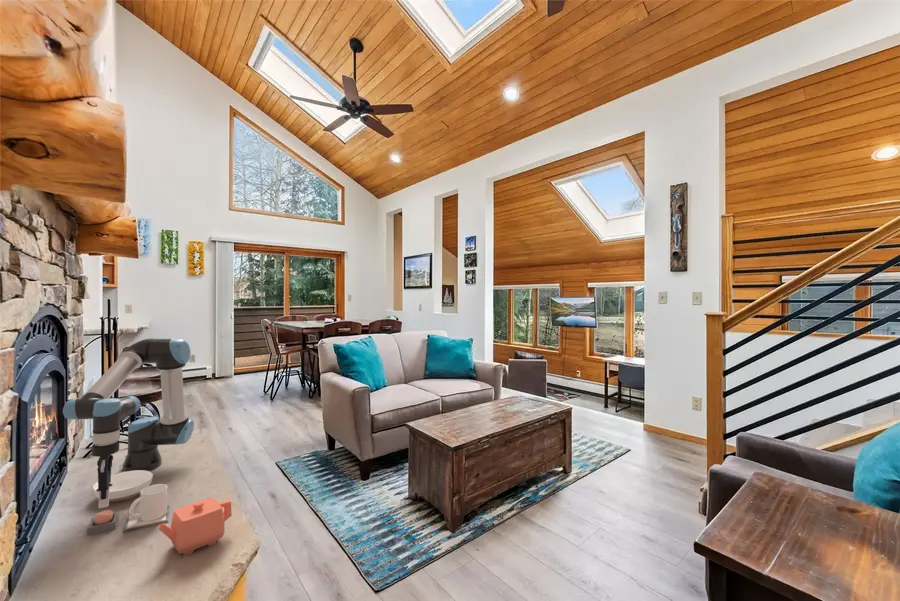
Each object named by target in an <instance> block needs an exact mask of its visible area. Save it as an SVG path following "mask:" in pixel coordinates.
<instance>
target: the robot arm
mask: <svg viewBox="0 0 900 601" xmlns="http://www.w3.org/2000/svg"><path fill="white" fill-rule="evenodd" d="M190 357H191V348H190V345H189V343H188V342H187V341H186V340H185V339H181V338H145V339H141V340H139V341H137V342H134V343H132V344H130V345H129V346H128V347H126V348H125V349H124V350H122V351H121V352H120V353H119V354H118V355H117V357H116V358H117V359H116V360H115V362H114V363H113V364H112V365H111V366H110V367H109V368H108V369H107V370H106V371H105V372H104V374H102V375H101V377H100V378H98V379H97V381H96V382H95V383H94V384H93V385H92V386H91V387H90V388H89V389H88V390H87V391H86V392H85V393H84V394H83V395H82V396H81V397H79V398H74V399H73V398H72V399H70V400H68V401H66V402H65V404H64V406H63V408H62V415H63V417H64V418H65V419H67V420H92V434H91V435H89V436H90V438H92V440H91V441H92V445H91V455H92V456H93V457H99V458H98V460H96V462H97V464H96V465H97V469H96V470H97V482H98V489H97V490H96V492H97V491H99V498H98V509H102V508H107V507H109V505H110V501H109V490H110V487H109V486H112V484H110V482H111V475H112V467H113V461H114V455H113V454H116V453H118V452H119V451H120V439H121V421H122V420H124V419H127V418H128V417H131V416H132V415H134V414H136V413H137V412H138V411H139V410H140V408H141V401H140V399H139V398H138V397H136V396H135V395H128V396H123V397H121V398H116V397H115V398H114V397H113V398H111V397H112V396H113V395H114V393H115V392H116V391H117V390H118V389H119V388H120V387H121V385H122V384H123V383H124V382H125V381H126V380H127V378H128V377H129V376H130V375H131V374H132V373H133V372H134V371H135V369H139V368H140V367H141V366H142V365H145V364H155V367H156V368H155V369H156V370H157V371H159V372H160V384H161V398H162V399H161V401H162V415H163V416H162V417H161V418H159V417H158V416H148V417H143V418H140V419H137V420H136V419H135V420H134V421H132V422H131V423H129V425H128V428H127V429H128V430H127V454H126V456H125V459H124V461H123V464H122V471H121V472H127V471H135V470H145V471H151V470H153V469H156V468H157V467H159V466H161V464H162V460H163V458H162V455H161V453H160V451H159V449H158V448H159V446H167V445H170V446H171V445H173V446H174V445H175V446H176V445H184V444H186V443H188V441H189V440H190V438H191V436H192V433H193V431H194V426H195V421H194V420H193V419H191V418H190V419H189V414H188V413H186V412H185V398H184V397H185V396H184V380H183V379H184V378H183V368H185V366H186V364H187V363H188V362H189V361H190V359H191V358H190Z"/></svg>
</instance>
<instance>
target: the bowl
mask: <svg viewBox="0 0 900 601" xmlns="http://www.w3.org/2000/svg"><path fill="white" fill-rule="evenodd" d="M153 477H154V473H153V472H152V471H150V470H148V471H145V470H135V471H127V472H123V471H121V472H117V473H113V474H111V482H110V484H112V486H109V487H110V490H109V502H113V503H114V502H115V503H116V502H122V501H126V500H129V499H132V498H134V497H136V496H138V495H139V494H140V492H141V490H142V489H144V488H146V487H148V486H151V483H152V481H153ZM97 489H98V481H97V482H95V483H94V484H93V486H92V492H93V494H94V496H95V498H96V499H99V491H97V492H96V490H97Z"/></svg>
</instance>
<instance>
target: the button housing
mask: <svg viewBox="0 0 900 601" xmlns="http://www.w3.org/2000/svg"><path fill="white" fill-rule="evenodd" d="M119 517H120V516H119V512H118V511H117V512H113V520H112V522H109V523H104V524H100V525H95V526H94V518H95V516H94V517H92V518H90V521H89V524H88V526H87V530H86V536H87V537H88V536H91V535H96V534H101V533H103V532H108V531H113V530H116V528H117V524H118V522H119Z"/></svg>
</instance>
